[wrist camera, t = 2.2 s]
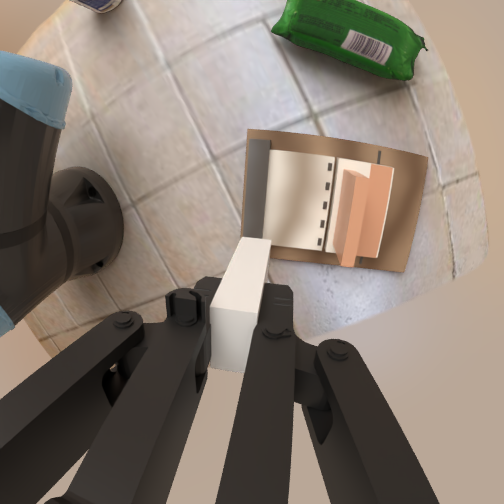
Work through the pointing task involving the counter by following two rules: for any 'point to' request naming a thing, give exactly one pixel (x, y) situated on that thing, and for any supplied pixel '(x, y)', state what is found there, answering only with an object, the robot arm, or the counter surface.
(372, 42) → the snack package
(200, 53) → the counter surface
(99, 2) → the pill bottle
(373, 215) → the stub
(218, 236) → the counter surface
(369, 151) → the wooden base board
